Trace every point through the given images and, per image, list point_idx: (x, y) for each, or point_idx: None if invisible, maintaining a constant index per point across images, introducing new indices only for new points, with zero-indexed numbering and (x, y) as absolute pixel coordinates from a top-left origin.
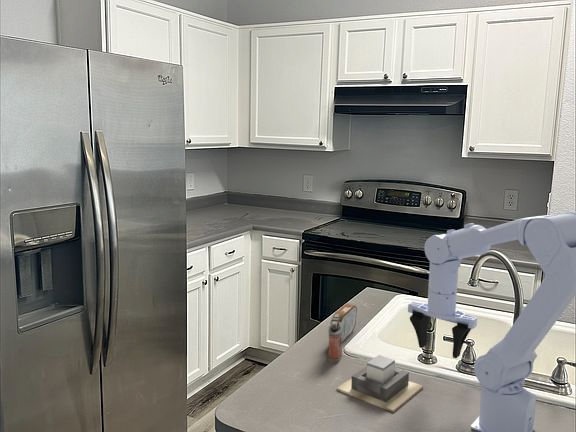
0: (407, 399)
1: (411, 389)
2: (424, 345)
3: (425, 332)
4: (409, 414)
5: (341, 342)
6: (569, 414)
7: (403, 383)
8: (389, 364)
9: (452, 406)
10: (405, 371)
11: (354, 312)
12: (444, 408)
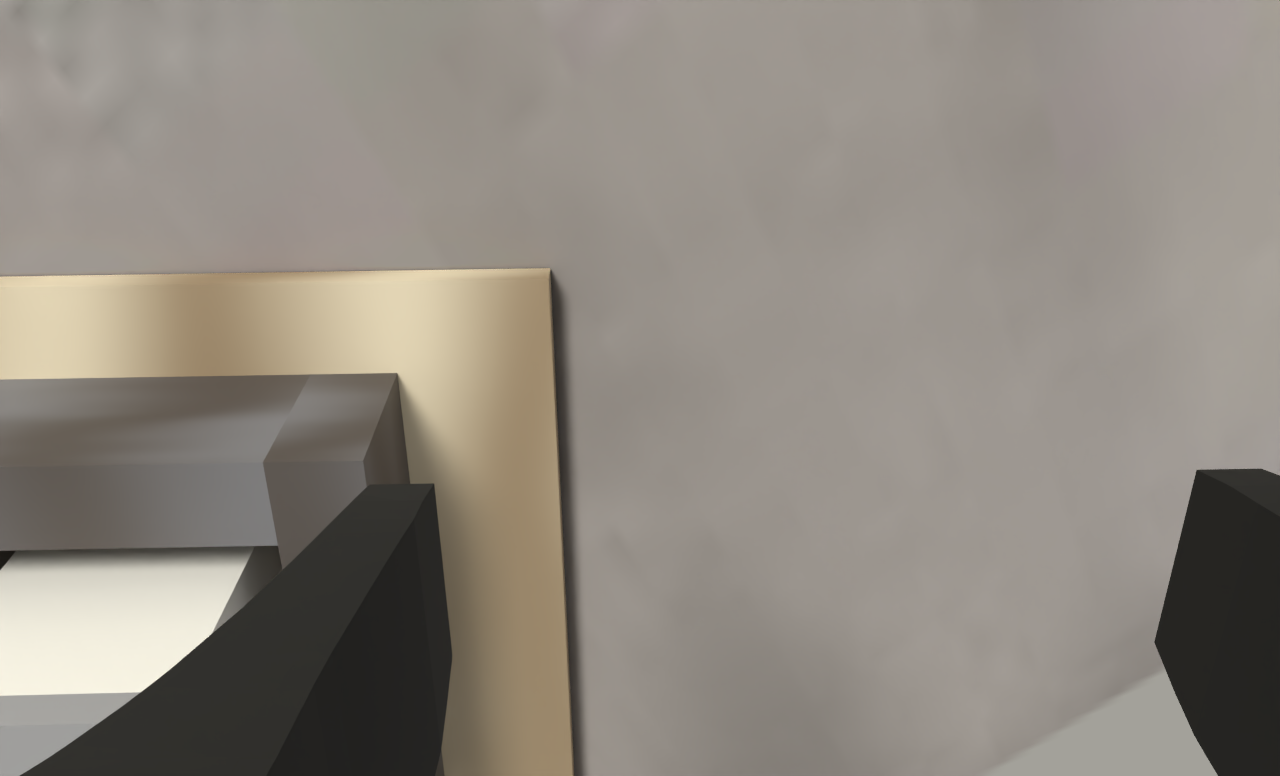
0: (564, 613)
1: (489, 442)
2: (438, 564)
3: (348, 737)
4: (700, 759)
5: None
6: None
7: None
8: None
9: (996, 411)
10: (314, 470)
11: None
12: (935, 494)
